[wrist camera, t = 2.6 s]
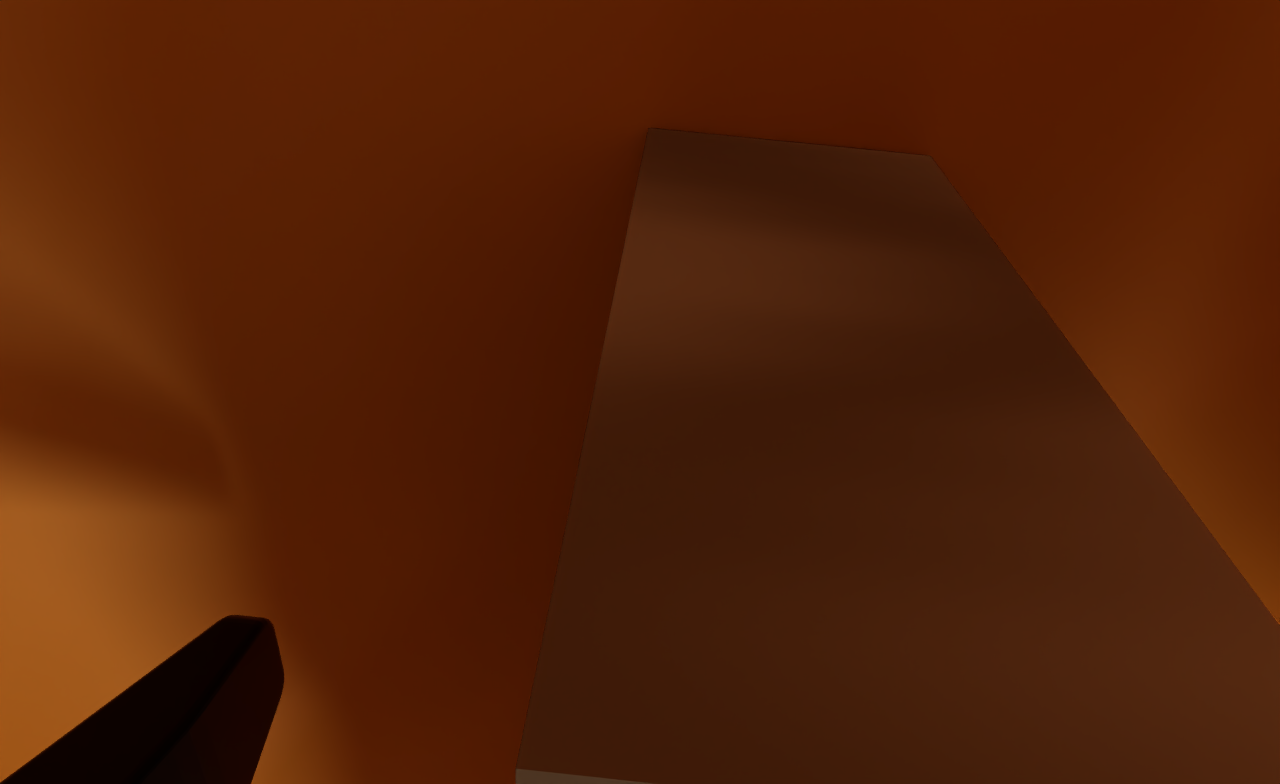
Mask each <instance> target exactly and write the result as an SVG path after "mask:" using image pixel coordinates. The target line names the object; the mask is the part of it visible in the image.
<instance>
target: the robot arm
mask: <svg viewBox="0 0 1280 784" xmlns="http://www.w3.org/2000/svg"><path fill="white" fill-rule="evenodd" d="M283 685H284V669H283V665H282V660H281V656H280V651H279V647H278V642H277V638H276V633H275V629H274V626H273V624H272V623H271V622H270V621H269V620H268V619H266V618H261V617H252V616H243V615H230V616H227V617H225V618H222V619H221V620H219V621H218V622H216V623H215V624H214V625H212V626H211V627H210V628H208V629H207V630H206V631H204V632H203V633H202V634H200V635H199V636H197V637H196V638H195V639H193V640H192V641H191V642H189V643H188V644H187V645H185V646H184V647H183V648H181V649H180V650H179V651H177V652H176V653H175V654H173V655H172V656H170V657H169V658H168V659H166V660H165V661H164V662H162V663H161V664H160V665H158V666H157V667H156V668H154V669H153V670H152V671H150V672H149V673H148V674H146V675H145V676H143V677H142V678H141V679H139V680H138V681H137V682H135V683H134V684H133V685H131V686H130V687H129V688H127V689H126V690H125V691H123V692H122V693H121V694H119V695H118V696H116V697H115V698H114V699H112V700H111V701H110V702H108V703H107V704H106V705H104V706H103V707H102V708H100V709H99V710H98V711H96V712H95V713H94V714H92V715H91V716H90V717H88V718H87V719H85V720H84V721H83V722H81V723H80V724H79V725H77V726H76V727H75V728H73V729H72V730H71V731H69V732H68V733H67V734H65V735H64V736H63V737H61V738H60V739H58V740H57V741H56V742H54V743H53V744H52V745H50V746H49V747H48V748H46V749H45V750H44V751H42V752H41V753H40V754H38V755H37V756H36V757H34V758H33V759H31V760H30V761H29V762H27V763H26V764H25V765H23V766H22V767H21V768H19V769H18V770H17V771H15V772H14V773H13V774H11V775H10V776H9V777H7V778H6V779H4V780H3V781H2V782H0V784H251V782H252V779H253V776H254V773H255V771H256V768H257V765H258V762H259V759H260V756H261V753H262V750H263V747H264V744H265V742H266V739H267V736H268V733H269V730H270V727H271V724H272V721H273V718H274V715H275V713H276V710H277V707H278V704H279V701H280V698H281V695H282V690H283Z"/></svg>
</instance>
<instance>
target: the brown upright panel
mask: <svg viewBox="0 0 1280 784" xmlns="http://www.w3.org/2000/svg"><path fill="white" fill-rule="evenodd" d="M516 784H1280V626H1279V624H1278V623H1277V622H1276V620H1275V619H1274V618H1273V616H1272V615H1271V614H1270V612H1269V611H1268V610H1267V608H1266V607H1265V606H1264V604H1263V603H1262V601H1261V600H1260V599H1259V597H1258V596H1257V595H1256V593H1255V592H1254V591H1253V589H1252V588H1251V587H1250V585H1249V584H1248V583H1247V581H1246V580H1245V579H1244V577H1243V576H1242V575H1241V573H1240V572H1239V571H1238V569H1237V568H1236V566H1235V565H1234V564H1233V562H1232V561H1231V560H1230V558H1229V557H1228V556H1227V554H1226V553H1225V552H1224V550H1223V549H1222V548H1221V546H1220V545H1219V544H1218V542H1217V541H1216V540H1215V538H1214V537H1213V536H1212V534H1211V533H1210V532H1209V530H1208V529H1207V527H1206V526H1205V525H1204V523H1203V522H1202V521H1201V519H1200V518H1199V517H1198V515H1197V514H1196V513H1195V511H1194V510H1193V509H1192V507H1191V506H1190V505H1189V503H1188V502H1187V501H1186V499H1185V498H1184V497H1183V495H1182V494H1181V492H1180V491H1179V490H1178V488H1177V487H1176V486H1175V484H1174V483H1173V482H1172V480H1171V479H1170V478H1169V476H1168V475H1167V474H1166V472H1165V471H1164V470H1163V468H1162V467H1161V466H1160V464H1159V463H1158V462H1157V460H1156V459H1155V457H1154V456H1153V455H1152V453H1151V452H1150V451H1149V449H1148V448H1147V447H1146V445H1145V444H1144V443H1143V441H1142V440H1141V439H1140V437H1139V436H1138V435H1137V433H1136V432H1135V431H1134V429H1133V428H1132V427H1131V425H1130V424H1129V422H1128V421H1127V420H1126V418H1125V417H1124V416H1123V414H1122V413H1121V412H1120V410H1119V409H1118V408H1117V406H1116V405H1115V404H1114V402H1113V401H1112V400H1111V398H1110V397H1109V396H1108V394H1107V393H1106V392H1105V390H1104V389H1103V388H1102V386H1101V385H1100V383H1099V382H1098V381H1097V379H1096V378H1095V377H1094V375H1093V374H1092V373H1091V371H1090V370H1089V369H1088V367H1087V366H1086V365H1085V363H1084V362H1083V361H1082V359H1081V358H1080V357H1079V355H1078V354H1077V353H1076V351H1075V350H1074V348H1073V347H1072V346H1071V344H1070V343H1069V342H1068V340H1067V339H1066V338H1065V336H1064V335H1063V334H1062V332H1061V331H1060V330H1059V328H1058V327H1057V326H1056V324H1055V323H1054V322H1053V320H1052V319H1051V318H1050V316H1049V315H1048V313H1047V312H1046V311H1045V309H1044V308H1043V307H1042V305H1041V304H1040V303H1039V301H1038V300H1037V299H1036V297H1035V296H1034V295H1033V293H1032V292H1031V291H1030V289H1029V288H1028V287H1027V285H1026V284H1025V283H1024V281H1023V280H1022V278H1021V277H1020V276H1019V274H1018V273H1017V272H1016V270H1015V269H1014V268H1013V266H1012V265H1011V264H1010V262H1009V261H1008V260H1007V258H1006V257H1005V256H1004V254H1003V253H1002V252H1001V250H1000V249H999V248H998V246H997V245H996V244H995V242H994V241H993V239H992V238H991V237H990V235H989V234H988V233H987V231H986V230H985V229H984V227H983V226H982V225H981V223H980V222H979V221H978V219H977V218H976V217H975V215H974V214H973V213H972V211H971V210H970V209H969V207H968V206H967V204H966V203H965V202H964V200H963V199H962V198H961V196H960V195H959V194H958V192H957V191H956V190H955V188H954V187H953V186H952V184H951V183H950V182H949V180H948V179H947V178H946V176H945V175H944V174H943V172H942V171H941V169H940V168H939V167H938V165H937V164H936V163H935V161H934V160H933V159H932V157H931V156H927V155H917V154H907V153H897V152H886V151H876V150H866V149H856V148H846V147H836V146H826V145H816V144H806V143H796V142H786V141H776V140H766V139H756V138H746V137H735V136H725V135H715V134H705V133H695V132H685V131H675V130H665V129H655V128H648V133H647V137H646V142H645V147H644V152H643V157H642V162H641V166H640V171H639V176H638V181H637V186H636V190H635V195H634V200H633V205H632V210H631V215H630V219H629V224H628V229H627V234H626V239H625V244H624V248H623V253H622V258H621V263H620V268H619V272H618V277H617V282H616V287H615V292H614V297H613V301H612V306H611V311H610V316H609V321H608V326H607V330H606V335H605V340H604V345H603V350H602V354H601V359H600V364H599V369H598V374H597V379H596V383H595V388H594V393H593V398H592V403H591V408H590V412H589V417H588V422H587V427H586V432H585V437H584V441H583V446H582V451H581V456H580V461H579V465H578V470H577V475H576V480H575V485H574V490H573V494H572V499H571V504H570V509H569V514H568V519H567V523H566V528H565V533H564V538H563V543H562V547H561V552H560V557H559V562H558V567H557V572H556V576H555V581H554V586H553V591H552V596H551V601H550V605H549V610H548V615H547V620H546V625H545V629H544V634H543V639H542V644H541V649H540V654H539V658H538V663H537V668H536V673H535V678H534V683H533V687H532V692H531V697H530V702H529V707H528V712H527V716H526V721H525V726H524V731H523V736H522V740H521V745H520V750H519V755H518V760H517V765H516Z"/></svg>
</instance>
